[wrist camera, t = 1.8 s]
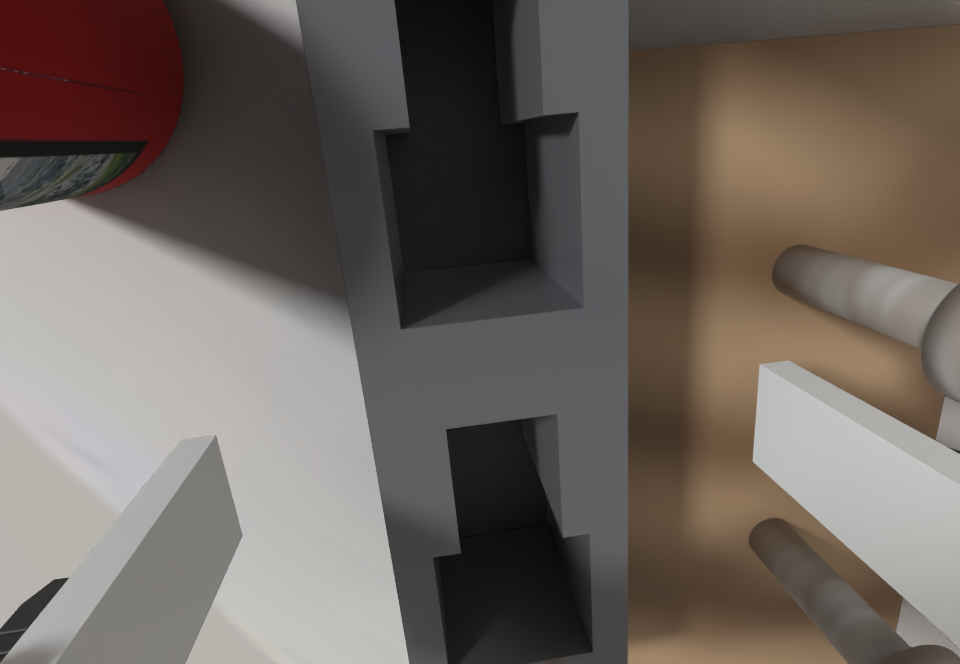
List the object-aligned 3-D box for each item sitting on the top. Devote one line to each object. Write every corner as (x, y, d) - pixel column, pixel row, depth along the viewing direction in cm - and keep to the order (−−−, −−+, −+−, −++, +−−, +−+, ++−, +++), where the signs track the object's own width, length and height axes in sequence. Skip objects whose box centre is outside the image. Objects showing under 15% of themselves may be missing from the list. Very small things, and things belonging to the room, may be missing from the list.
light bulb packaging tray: (313, -96, 14) (244, -266, 8) (550, -110, 14) (643, -278, 9) (420, 598, 21) (424, 769, 15) (575, 574, 22) (635, 730, 16)
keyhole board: (591, 59, 16) (778, -29, 8) (981, 27, 17) (1505, -80, 9) (603, 683, 24) (701, 961, 16) (867, 637, 25) (1087, 875, 17)
